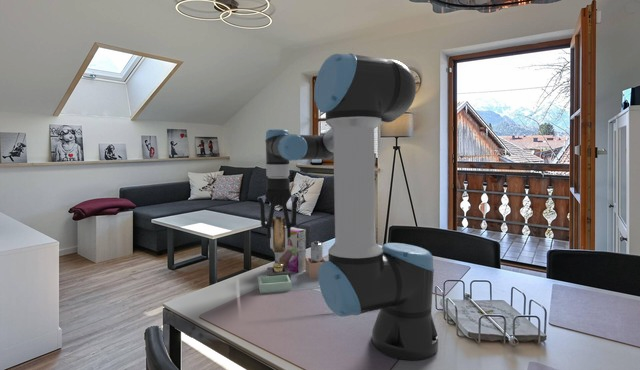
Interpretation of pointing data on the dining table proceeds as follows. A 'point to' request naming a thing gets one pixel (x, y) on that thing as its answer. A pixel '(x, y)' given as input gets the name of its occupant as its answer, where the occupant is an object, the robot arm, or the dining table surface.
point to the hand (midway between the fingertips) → (278, 247)
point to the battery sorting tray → (290, 279)
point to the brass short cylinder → (278, 267)
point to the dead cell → (316, 252)
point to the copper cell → (278, 234)
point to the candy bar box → (294, 251)
